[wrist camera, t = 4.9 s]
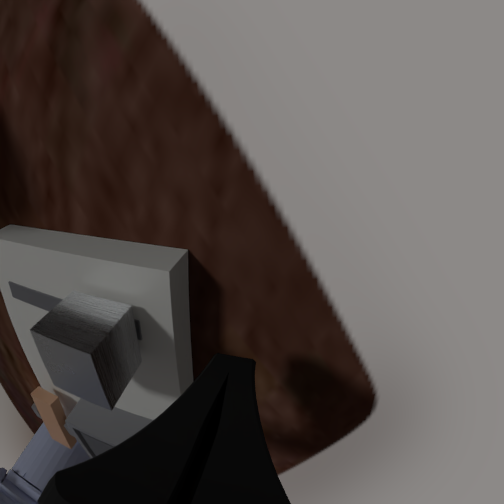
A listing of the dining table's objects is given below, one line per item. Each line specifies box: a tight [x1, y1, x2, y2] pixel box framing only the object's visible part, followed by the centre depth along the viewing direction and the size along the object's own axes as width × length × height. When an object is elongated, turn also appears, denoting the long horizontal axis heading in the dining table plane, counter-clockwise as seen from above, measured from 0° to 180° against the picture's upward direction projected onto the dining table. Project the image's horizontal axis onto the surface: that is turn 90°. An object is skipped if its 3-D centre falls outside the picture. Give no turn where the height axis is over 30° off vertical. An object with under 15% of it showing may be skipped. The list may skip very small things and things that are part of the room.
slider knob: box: [30, 291, 142, 411], centre depth 10 cm, size 3×3×3 cm
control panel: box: [0, 224, 194, 458], centre depth 14 cm, size 18×12×4 cm, turn 175°
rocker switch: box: [31, 386, 77, 449], centre depth 15 cm, size 5×2×1 cm, turn 176°
